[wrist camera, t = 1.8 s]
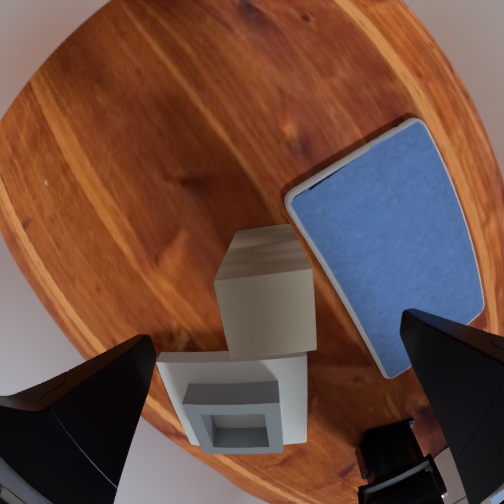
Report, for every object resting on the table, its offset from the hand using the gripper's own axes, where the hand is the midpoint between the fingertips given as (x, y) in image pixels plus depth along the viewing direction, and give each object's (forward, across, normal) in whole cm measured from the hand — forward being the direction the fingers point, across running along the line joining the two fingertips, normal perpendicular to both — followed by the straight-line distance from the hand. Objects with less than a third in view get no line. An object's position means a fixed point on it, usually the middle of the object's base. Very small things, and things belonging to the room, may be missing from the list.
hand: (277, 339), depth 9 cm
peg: (+11, 0, 0) cm, 11 cm away
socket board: (+11, +4, +14) cm, 18 cm away
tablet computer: (+11, -11, +2) cm, 16 cm away
